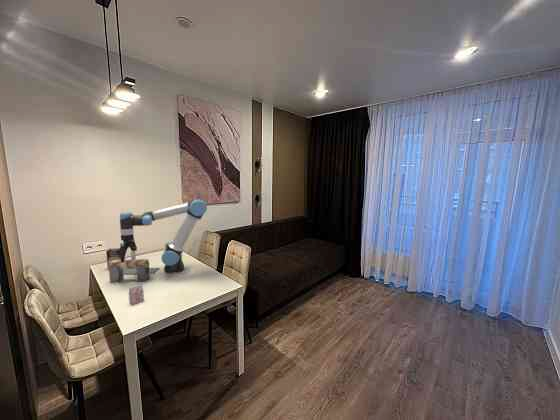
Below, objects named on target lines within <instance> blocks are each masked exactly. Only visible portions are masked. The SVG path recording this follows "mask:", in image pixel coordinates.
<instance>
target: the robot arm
mask: <svg viewBox="0 0 560 420" xmlns="http://www.w3.org/2000/svg"><path fill="white" fill-rule="evenodd" d="M207 210H208V206H207V202H206V200H205V199H204V198H200V197H197V198H194V199H192V200H188V201H186V203H181V204H177V205H176V204H175V205H172V206H168V207H164V208H160V209H156V210H155V209H154V210H152V211H146V212H145V211H144V213H142V214H140V215H139V214H136V215H135V214H133V212H128V211H126V212H125V211H124V212H121V213H119V229H120V241H123V242H121V243H120V246H119V248H120V251H119V256H118V258H121V267H126V260H127V259H126V253H127V251H128V249H130V250H131V251H130V255H131V256H130V257H131V258H130V260H136V251H137V249H138V247H137V244H136V242H135V237H134V232H135V231H134V227H137V226H138V227H141V226H143V227H147V226H148V227H149V226H152V224H153V222H154V221H158V220H159V221H160V220H162V219H163V220H164V219H166V218H171V217H175V216H179V215H183V214H186V217H184V218H185V219H184V220H183V223H182V224H181V226H179V227H180V228H179V229H178V231H177V232H176V234H175V236H174V238H173V240H172V241H171V242H167V243H165V249H164V251H163V254H162V255H161V261H162V263H163V264H164V266H163V267H164V269H163V270H164V271H163V272H164V273H165V274H177V273H180V272H183V271H184V270H185V264H184V262H183V253H184V246H185V244H186V243H187V241H188V239H189V237H190V236H191V234H192V232H193V230H194V228H195V227H196V225H197V224H198V221H199V220H202V218H203V216H204V214H206V212H207Z"/></svg>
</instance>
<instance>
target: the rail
mask: <svg viewBox="0 0 560 420" xmlns="http://www.w3.org/2000/svg"><path fill="white" fill-rule="evenodd" d="M140 265H145V268H147V267H148V266H149V267H150V261H149V259H148V258H147V259H145V258H139V259H135V260H131V259H126V267H121V260H112V261H110V262H109V266H118V269H136V266H140Z"/></svg>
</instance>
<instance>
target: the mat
mask: <svg viewBox="0 0 560 420" xmlns="http://www.w3.org/2000/svg"><path fill="white" fill-rule="evenodd" d="M159 269H160V267H149V273H150V275H154V274H156V273H157V271H159ZM123 275H124V276H127V275H129V276H130V275H137V270H136V269H123Z"/></svg>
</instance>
